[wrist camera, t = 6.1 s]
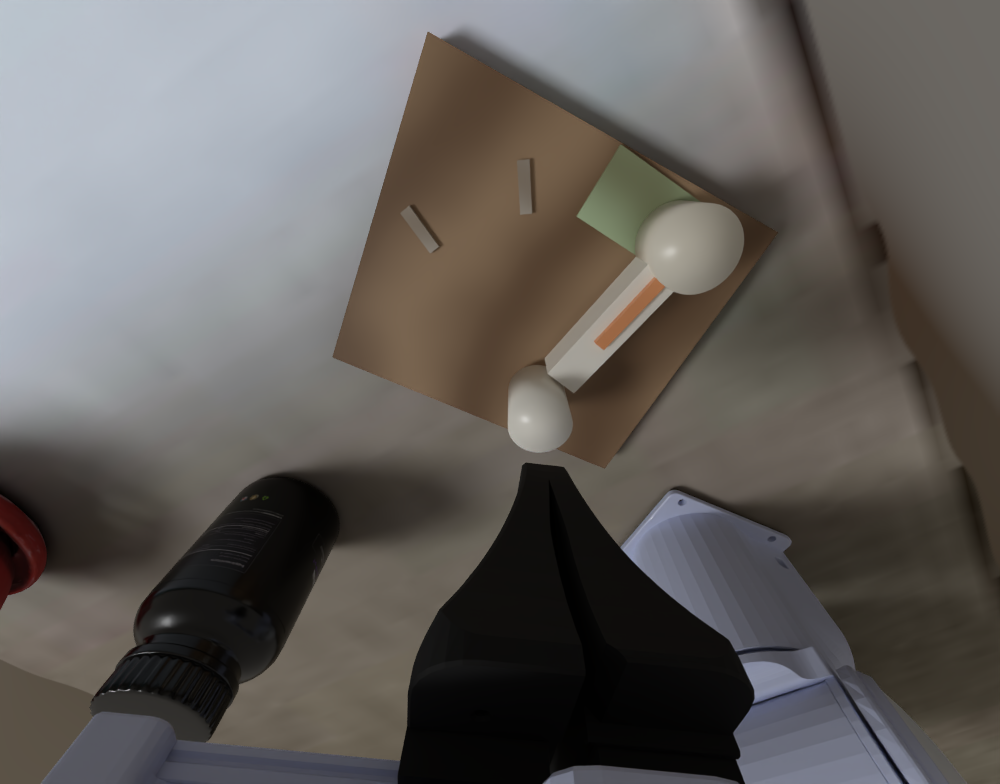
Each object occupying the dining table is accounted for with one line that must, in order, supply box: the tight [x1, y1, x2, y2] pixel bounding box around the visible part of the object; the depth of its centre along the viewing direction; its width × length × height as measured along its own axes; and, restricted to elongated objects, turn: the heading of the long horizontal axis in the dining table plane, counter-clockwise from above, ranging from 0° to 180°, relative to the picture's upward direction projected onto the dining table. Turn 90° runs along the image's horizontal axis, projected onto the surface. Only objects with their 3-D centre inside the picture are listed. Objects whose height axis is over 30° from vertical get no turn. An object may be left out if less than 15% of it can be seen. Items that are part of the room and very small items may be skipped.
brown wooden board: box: [333, 32, 778, 468], centre depth 19 cm, size 16×14×1 cm
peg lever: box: [508, 200, 744, 453], centre depth 17 cm, size 12×3×3 cm, turn 142°
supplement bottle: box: [90, 477, 339, 743], centre depth 22 cm, size 7×7×12 cm
